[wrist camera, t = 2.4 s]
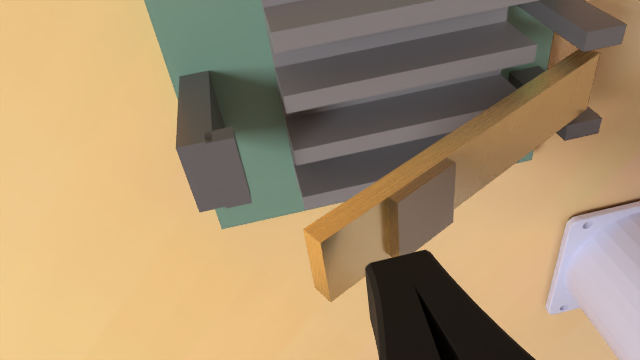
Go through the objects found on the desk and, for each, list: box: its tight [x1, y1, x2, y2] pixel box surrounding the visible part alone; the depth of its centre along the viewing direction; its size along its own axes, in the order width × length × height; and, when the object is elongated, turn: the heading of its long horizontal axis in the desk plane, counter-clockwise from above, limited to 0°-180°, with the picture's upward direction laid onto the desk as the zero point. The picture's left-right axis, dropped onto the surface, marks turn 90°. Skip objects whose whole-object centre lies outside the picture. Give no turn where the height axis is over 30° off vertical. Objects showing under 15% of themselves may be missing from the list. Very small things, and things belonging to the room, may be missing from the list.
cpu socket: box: [144, 0, 627, 229], centre depth 17 cm, size 14×12×5 cm
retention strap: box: [303, 49, 600, 302], centre depth 14 cm, size 11×2×1 cm, turn 97°
